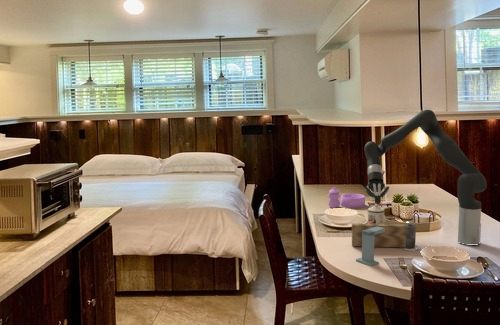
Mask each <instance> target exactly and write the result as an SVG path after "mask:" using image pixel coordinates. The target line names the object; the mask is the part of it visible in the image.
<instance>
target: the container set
mask: <svg viewBox="0 0 500 325" xmlns="http://www.w3.org/2000/svg"><path fill="white" fill-rule="evenodd" d="M328 198H329V200H328V203H327V204H328V206H329V207H330V209H337V208H336V207H338V208H339V207H340V206H341V207H343V208H349V209H360V208H364V207H366V195H364V194H360V193H343V194H340V190H339V189H337V187H336V186H332V188H331V189H330V190H329V191H328ZM339 199H340V200H339Z"/></svg>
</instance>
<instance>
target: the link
mask: <svg viewBox="0 0 500 325" xmlns="http://www.w3.org/2000/svg"><path fill="white" fill-rule="evenodd" d="M377 226H378V227H381V228H385V232H383V233H379V234H376V235H374V248H375V247H378V248H379V247H381V248H382V247H383V248H400V247H406V248H415V245H416V233H417V229H416V228H417V226H416V224H414V223H413V224H412V225H408V223H405V224H404V223H403V224H402V223H401V224H397V223H395V224H394V223H392V224H391V223H389V224H388V223H387V224H386V223H384V224H368V223H351V245H352V247H362V231H363V230H366V229H370V228H374V227H377Z"/></svg>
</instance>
